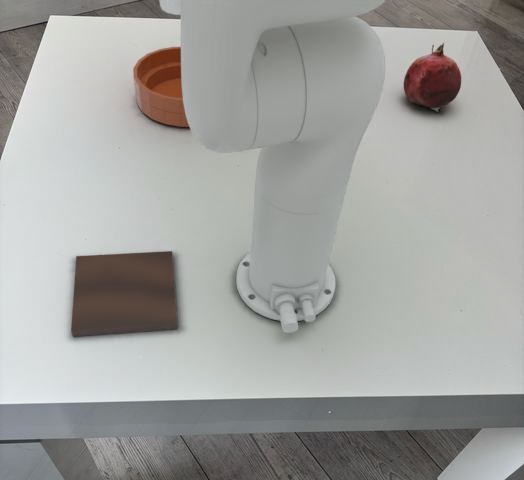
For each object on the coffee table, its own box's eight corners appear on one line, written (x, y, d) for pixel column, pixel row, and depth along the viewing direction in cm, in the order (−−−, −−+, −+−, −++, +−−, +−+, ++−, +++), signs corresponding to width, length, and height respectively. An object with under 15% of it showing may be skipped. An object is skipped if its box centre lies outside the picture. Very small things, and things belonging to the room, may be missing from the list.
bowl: (239, 128, 88) (240, 99, 84) (137, 130, 86) (133, 100, 82) (228, 75, 97) (229, 46, 93) (136, 76, 95) (132, 46, 91)
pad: (177, 329, 64) (177, 324, 63) (72, 337, 63) (70, 331, 62) (172, 256, 71) (172, 250, 70) (77, 261, 69) (76, 255, 69)
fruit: (447, 124, 93) (469, 65, 85) (393, 110, 94) (410, 51, 86) (455, 97, 98) (477, 40, 90) (404, 84, 99) (421, 26, 91)
